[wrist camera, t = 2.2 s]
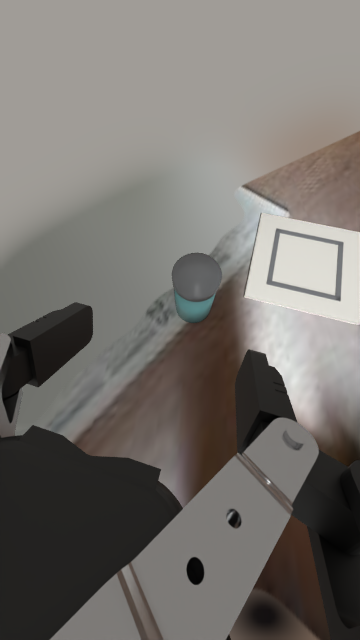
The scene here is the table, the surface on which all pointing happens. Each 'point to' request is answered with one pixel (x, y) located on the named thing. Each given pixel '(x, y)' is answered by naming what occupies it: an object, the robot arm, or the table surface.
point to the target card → (306, 268)
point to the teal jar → (195, 285)
